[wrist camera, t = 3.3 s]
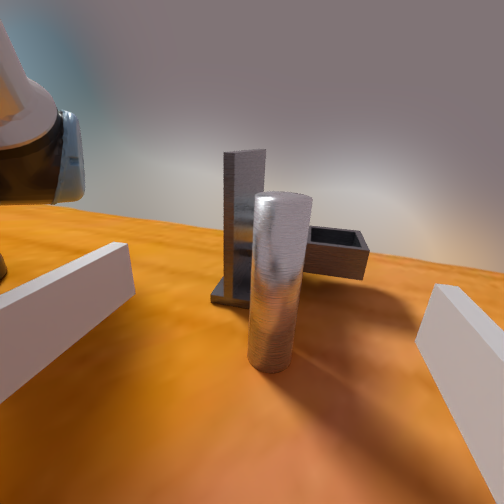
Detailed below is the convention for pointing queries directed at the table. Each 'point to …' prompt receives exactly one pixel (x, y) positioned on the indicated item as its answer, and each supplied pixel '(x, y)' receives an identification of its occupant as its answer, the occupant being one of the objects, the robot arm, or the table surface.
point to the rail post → (276, 276)
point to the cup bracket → (241, 234)
